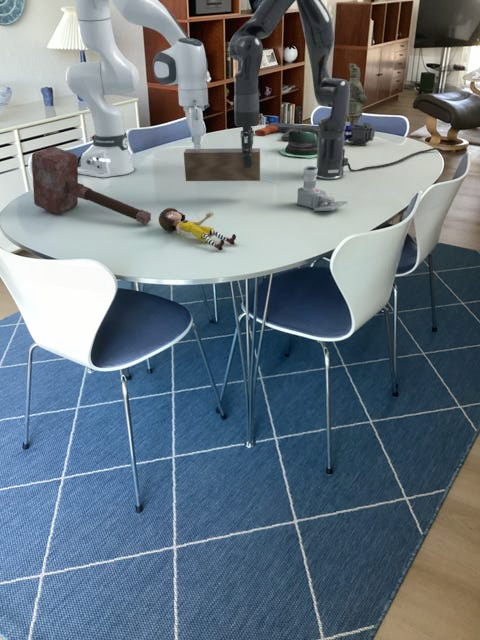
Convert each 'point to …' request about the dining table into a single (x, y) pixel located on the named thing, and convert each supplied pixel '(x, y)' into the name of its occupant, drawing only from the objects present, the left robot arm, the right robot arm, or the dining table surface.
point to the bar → (221, 165)
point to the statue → (355, 96)
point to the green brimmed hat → (302, 143)
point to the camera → (315, 193)
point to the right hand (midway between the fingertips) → (247, 164)
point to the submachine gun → (282, 129)
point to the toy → (359, 133)
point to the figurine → (191, 227)
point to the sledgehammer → (69, 186)
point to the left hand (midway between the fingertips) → (196, 145)
